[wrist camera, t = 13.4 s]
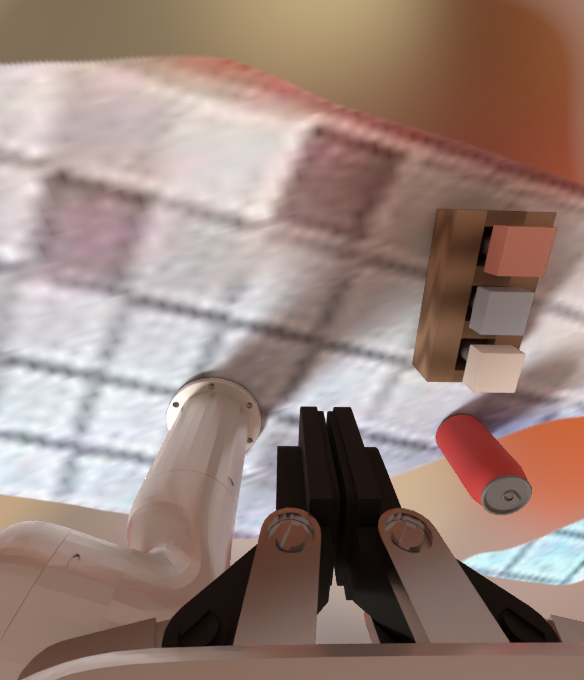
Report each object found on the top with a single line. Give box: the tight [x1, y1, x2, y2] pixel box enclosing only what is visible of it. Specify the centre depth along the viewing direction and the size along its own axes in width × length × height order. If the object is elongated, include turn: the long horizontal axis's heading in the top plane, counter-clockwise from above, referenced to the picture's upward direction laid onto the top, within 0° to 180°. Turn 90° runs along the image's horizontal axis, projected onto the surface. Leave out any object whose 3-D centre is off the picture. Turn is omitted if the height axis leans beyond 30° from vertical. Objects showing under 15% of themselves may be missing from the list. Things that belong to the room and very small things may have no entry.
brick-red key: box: [479, 225, 557, 277], centre depth 36 cm, size 4×4×7 cm
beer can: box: [436, 414, 532, 515], centre depth 45 cm, size 7×7×12 cm
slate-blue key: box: [468, 286, 535, 335], centre depth 38 cm, size 4×4×7 cm
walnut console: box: [412, 209, 557, 382], centre depth 41 cm, size 19×10×5 cm, turn 179°
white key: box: [458, 338, 526, 393], centre depth 40 cm, size 4×4×7 cm
